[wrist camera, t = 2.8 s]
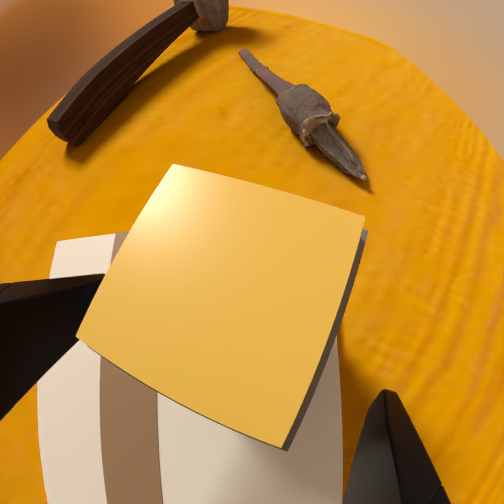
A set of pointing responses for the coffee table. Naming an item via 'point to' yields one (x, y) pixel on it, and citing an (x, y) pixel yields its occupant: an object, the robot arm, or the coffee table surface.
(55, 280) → the robot arm
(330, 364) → the board
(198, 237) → the yellow-topped grey block
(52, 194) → the coffee table surface
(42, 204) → the coffee table surface
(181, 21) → the hammer
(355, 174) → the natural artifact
